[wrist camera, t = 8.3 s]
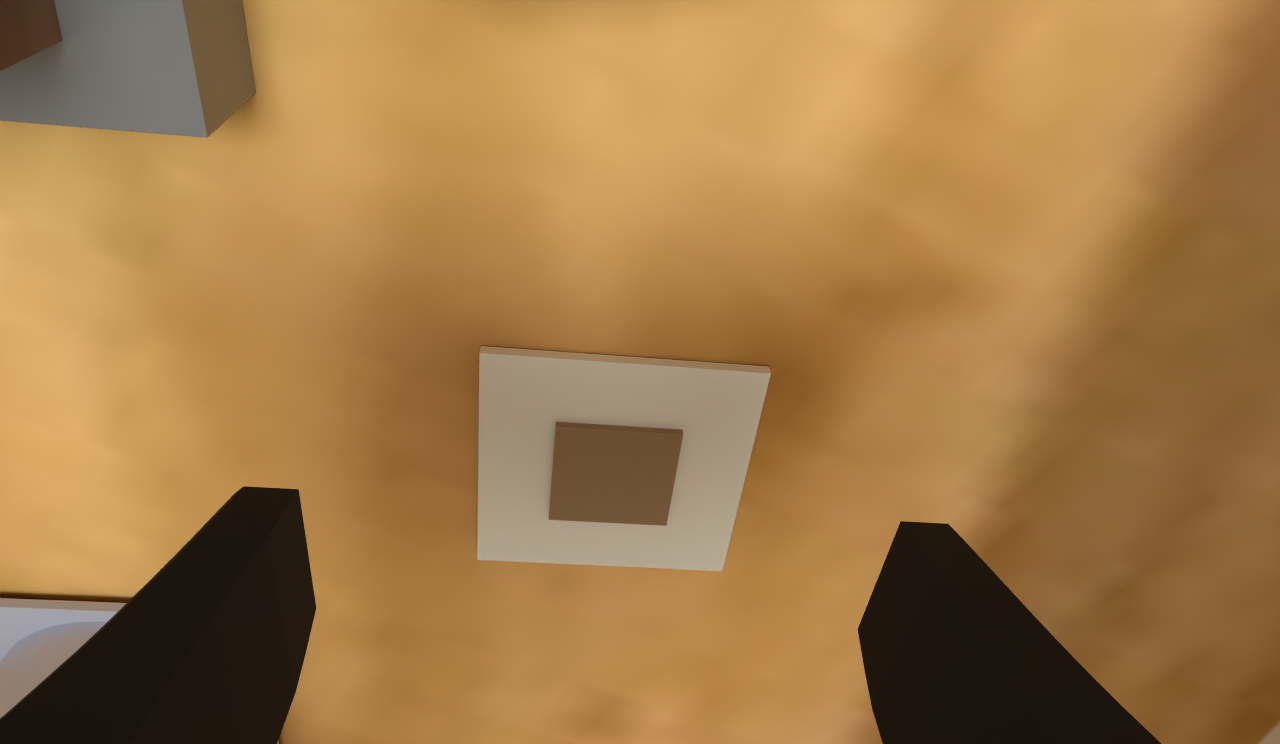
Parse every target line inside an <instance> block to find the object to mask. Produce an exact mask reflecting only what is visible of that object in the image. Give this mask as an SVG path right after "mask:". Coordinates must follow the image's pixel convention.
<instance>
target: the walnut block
mask: <svg viewBox="0 0 1280 744" xmlns="http://www.w3.org/2000/svg"><path fill="white" fill-rule="evenodd" d="M60 41H62V37H61V32H60V27H59V23H58V18H57V14H56V9H55V5H54V0H0V71H2V70H4V69H6V68H8V67H10V66H12V65H14V64H16V63H18V62H20V61H22V60H24V59H26V58H28V57H30V56H32V55H34V54H36V53H38V52H40V51H42V50H44V49H46V48H48V47H50V46H52V45H54V44H56V43H58V42H60Z"/></svg>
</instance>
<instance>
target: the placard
mask: <svg viewBox="0 0 1280 744" xmlns="http://www.w3.org/2000/svg"><path fill="white" fill-rule="evenodd" d="M770 376H771V372H770V368H769V366H755V365H741V364H727V363H713V362H699V361H685V360H671V359H657V358H643V357H629V356H614V355H600V354H586V353H572V352H558V351H544V350H530V349H516V348H502V347H488V346H481V348H480V353H479V442H478V535H477V560H489V561H511V562H533V563H555V564H577V565H598V566H620V567H642V568H664V569H686V570H707V571H722V570H723V566H724V562H725V558H726V554H727V550H728V546H729V542H730V538H731V534H732V530H733V526H734V522H735V518H736V514H737V510H738V506H739V501H740V497H741V493H742V489H743V485H744V481H745V477H746V473H747V469H748V465H749V461H750V457H751V453H752V449H753V445H754V441H755V436H756V432H757V428H758V424H759V420H760V416H761V412H762V408H763V404H764V400H765V396H766V392H767V388H768V384H769V380H770Z"/></svg>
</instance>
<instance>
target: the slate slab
mask: <svg viewBox="0 0 1280 744" xmlns="http://www.w3.org/2000/svg"><path fill="white" fill-rule="evenodd" d="M54 5H55V9H56V14H57V18H58V23H59V27H60V32H61V37H62V41H60V42H58V43H56V44H54V45H52V46H50V47H48V48H46V49H44V50H42V51H40V52H38V53H36V54H34V55H32V56H30V57H28V58H26V59H24V60H22V61H20V62H18V63H16V64H14V65H12V66H10V67H8V68H6V69H4V70H2V71H0V120H1V121H13V122H25V123H37V124H49V125H61V126H73V127H85V128H97V129H109V130H121V131H133V132H145V133H157V134H169V135H182V136H194V137H206V138H208V137H209V136H210V135H211V134H212V133H213V132H214V131H215V130H216V129H217V128H218V127H219V126H220V125H222V124H223V123H224V122H225V121H226V120H227V119H228V118H229V117H230V116H231V115H232V114H233V113H234V112H235V111H236V110H238V109H239V108H240V107H241V106H242V105H243V104H244V103H245V102H246V101H247V100H248V99H249V98H250V97H251V96H252V95H253V94H255V93H256V88H255V81H254V75H253V68H252V61H251V55H250V48H249V41H248V35H247V28H246V21H245V15H244V8H243V1H242V0H54Z"/></svg>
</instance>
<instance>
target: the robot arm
mask: <svg viewBox="0 0 1280 744" xmlns="http://www.w3.org/2000/svg"><path fill="white" fill-rule="evenodd" d="M315 611H316V604H315V597H314V590H313V583H312V577H311V570H310V563H309V557H308V550H307V543H306V537H305V530H304V523H303V516H302V510H301V503H300V496H299V490H298V489H280V488H261V487H243V488H241V489H240V490H239V491H237V492H236V493H235V494H234V495H233V496H232V497H231V498H230V499H229V500H228V501H227V502H226V503H225V504H224V505H223V506H222V507H221V508H220V509H219V510H218V511H217V512H216V514H215V515H214V516H213V517H212V518H211V519H210V520H209V521H208V522H207V523H206V524H205V525H204V526H203V527H202V528H201V529H200V530H199V531H198V532H197V533H196V534H195V535H194V536H193V537H192V538H191V540H190V541H189V542H188V543H187V544H186V545H185V546H184V547H183V548H182V549H181V550H180V551H179V552H178V553H177V554H176V555H175V556H174V557H173V558H172V559H171V560H170V561H169V562H168V563H167V564H166V565H165V566H164V567H163V568H162V569H161V570H160V571H159V572H158V573H157V574H156V575H155V576H154V577H153V578H152V579H151V580H150V581H149V582H148V583H147V584H146V585H145V586H144V587H143V588H142V589H141V590H140V591H139V592H138V593H137V594H136V595H135V596H134V597H133V598H132V599H130V600H129V601H128V602H127V603H115V602H90V601H64V600H39V599H13V598H0V744H279V741H278V739H279V736H280V734H281V731H282V728H283V725H284V723H285V720H286V717H287V715H288V712H289V709H290V706H291V703H292V701H293V698H294V695H295V692H296V689H297V685H298V681H299V677H300V673H301V669H302V665H303V661H304V657H305V653H306V649H307V645H308V641H309V636H310V632H311V628H312V623H313V619H314V615H315ZM858 634H859V640H860V645H861V651H862V657H863V663H864V669H865V674H866V679H867V684H868V689H869V694H870V700H871V705H872V709H873V713H874V716H875V719H876V723H877V726H878V729H879V733H880V736H881V739H882V742H883V744H1161V743H1160V742H1159V741H1158V740H1157V739H1156V738H1155V737H1154V736H1153V735H1152V734H1151V733H1149V732H1148V731H1147V730H1146V729H1145V728H1144V727H1143V726H1142V725H1141V724H1140V723H1139V722H1138V721H1137V720H1136V719H1135V718H1134V717H1133V716H1132V715H1131V714H1129V713H1128V712H1127V711H1126V710H1125V709H1124V708H1123V707H1122V706H1121V705H1120V704H1119V703H1118V702H1117V701H1116V700H1115V699H1114V698H1113V697H1112V696H1111V695H1110V694H1109V693H1108V692H1107V691H1106V690H1105V689H1104V688H1103V687H1102V686H1101V685H1100V684H1099V683H1098V682H1097V681H1096V680H1095V679H1094V678H1093V677H1092V676H1091V675H1090V674H1089V673H1088V672H1087V671H1086V670H1085V669H1084V668H1083V667H1082V666H1081V665H1080V664H1079V663H1078V662H1077V661H1076V660H1075V659H1074V658H1073V657H1072V655H1071V654H1070V653H1069V652H1068V651H1067V650H1066V649H1065V648H1064V647H1063V646H1062V645H1061V644H1060V643H1059V642H1058V641H1057V640H1056V639H1055V638H1054V637H1053V636H1052V635H1051V634H1050V632H1049V631H1048V630H1047V629H1046V628H1045V627H1044V626H1043V625H1042V624H1041V623H1040V622H1039V621H1038V620H1037V619H1036V618H1035V617H1034V615H1033V614H1032V613H1031V612H1030V611H1029V610H1028V609H1027V608H1026V607H1025V606H1024V605H1023V604H1022V602H1021V601H1020V600H1019V599H1018V598H1017V597H1016V596H1015V595H1014V594H1013V593H1012V592H1011V591H1010V590H1009V588H1008V587H1007V586H1006V585H1005V584H1004V583H1003V582H1002V581H1001V580H1000V579H999V578H998V576H997V575H996V574H995V573H994V572H993V571H992V570H991V569H990V568H989V567H988V566H987V565H986V563H985V562H984V561H983V560H982V559H981V558H980V557H979V556H978V555H977V554H976V553H975V552H974V550H973V549H972V548H971V547H970V546H969V545H968V544H967V543H966V542H965V541H964V540H963V539H962V538H961V537H960V536H959V535H958V534H957V533H956V532H955V531H954V529H953V528H952V527H951V526H950V525H949V524H940V523H921V522H902V521H901V522H900V525H899V527H898V530H897V532H896V535H895V537H894V540H893V542H892V545H891V547H890V550H889V552H888V555H887V557H886V560H885V562H884V565H883V567H882V570H881V572H880V575H879V577H878V580H877V582H876V585H875V587H874V590H873V592H872V595H871V597H870V600H869V602H868V605H867V607H866V610H865V612H864V615H863V617H862V620H861V622H860V625H859V627H858Z"/></svg>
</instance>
